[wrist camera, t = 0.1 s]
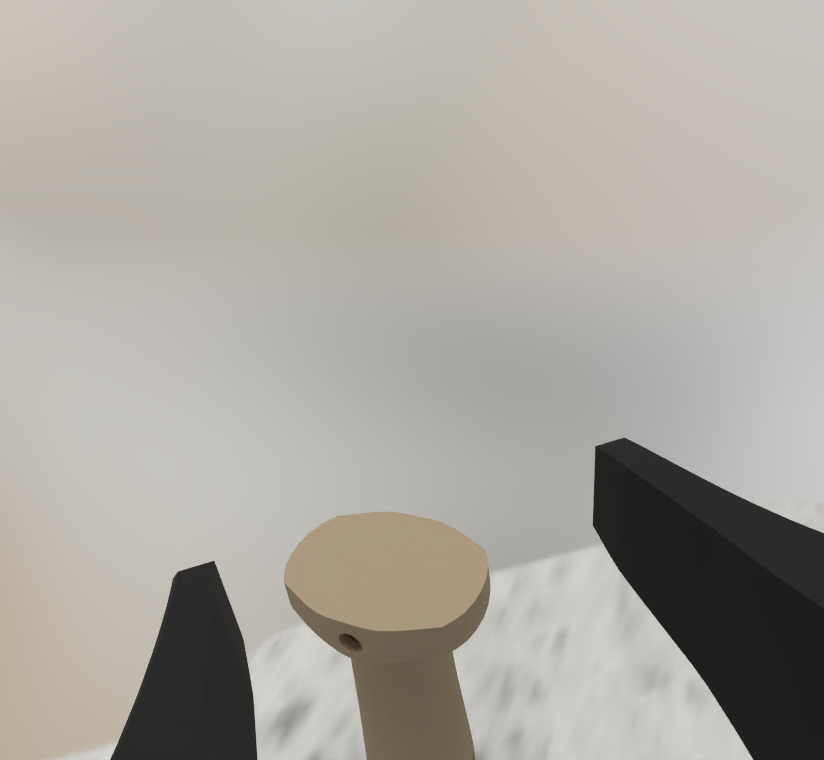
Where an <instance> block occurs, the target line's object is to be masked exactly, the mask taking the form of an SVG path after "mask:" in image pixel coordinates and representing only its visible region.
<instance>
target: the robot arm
mask: <svg viewBox="0 0 824 760" xmlns="http://www.w3.org/2000/svg"><path fill="white" fill-rule="evenodd" d="M595 449H596V450H595V479H594V509H593V526H594V528H595V530H596V532H597V533H598V535H599V537H600V539H601V540H602V542H603V544H604V546H605V547H606V549H607V551H608V553H609V554H610V556H611V558H612V559H613V561H614V562H615V564H616V566H617V567H618V569H619V571H620V572H621V573H622V575H623V576H624V577H625V579H626V580H627V581H628V583H629V584H630V585H631V587H632V588H633V589H634V590H635V592H636V593H637V594H638V596H639V597H640V598H641V600H642V601H643V602H644V603H645V605H646V606H647V607H648V609H649V610H650V611H651V612H652V614H653V615H654V616H655V618H656V619H657V620H658V621H659V623H660V624H661V625H662V627H663V628H664V629H665V630H666V632H667V633H668V634H669V635H670V637H671V638H672V639H673V641H674V642H675V643H676V644H677V646H678V647H679V648H680V650H681V651H682V652H683V653H684V655H685V656H686V657H687V659H688V660H689V661H690V662H691V664H692V665H693V666H694V668H695V669H696V671H697V672H698V673H699V675H700V676H701V678H702V679H703V680H704V682H705V683H706V684H707V686H708V687H709V689H710V690H711V692H712V694H713V695H714V697H715V698H716V700H717V702H718V703H719V705H720V706H721V708H722V709H723V711H724V713H725V714H726V716H727V717H728V719H729V720H730V722H731V724H732V725H733V727H734V728H735V730H736V732H737V733H738V735H739V736H740V738H741V740H742V741H743V743H744V745H745V746H746V748H747V750H748V751H749V753H750V755H751V756H752V758H753V760H824V533H822V532H819V531H816V530H814V529H811V528H809V527H806V526H804V525H801V524H799V523H796V522H794V521H792V520H789V519H787V518H785V517H782V516H780V515H778V514H776V513H773V512H771V511H769V510H767V509H764V508H762V507H760V506H758V505H755V504H753V503H751V502H749V501H747V500H745V499H743V498H741V497H738V496H736V495H734V494H732V493H730V492H728V491H726V490H724V489H722V488H720V487H718V486H716V485H714V484H712V483H710V482H708V481H706V480H705V479H703V478H701V477H699V476H697V475H695V474H693V473H691V472H689V471H687V470H685V469H683V468H682V467H680V466H678V465H676V464H674V463H672V462H670V461H668V460H666V459H665V458H663V457H661V456H659V455H657V454H655V453H653V452H652V451H649V450H648V449H646V448H644V447H642V446H640V445H638V444H636V443H634V442H632V441H630V440H628V439H626V438H622V439H619V440H615V441H612V442H609V443H605V444H602V445H598V446H596V448H595ZM110 760H257V747H256V731H255V716H254V701H253V692H252V686H251V680H250V674H249V668H248V663H247V657H246V652H245V646H244V641H243V637H242V634H241V631H240V629H239V626H238V624H237V621H236V618H235V615H234V613H233V610H232V608H231V605H230V602H229V600H228V597H227V594H226V591H225V589H224V586H223V583H222V581H221V578H220V575H219V573H218V570H217V567H216V565H215V562H214V561H212V562H209V563H205V564H202V565H199V566H195V567H192V568H189V569H185V570H182V571H179V572H178V573H177V574H176V575H175V577H174V578H173V582H172V586H171V591H170V595H169V599H168V603H167V607H166V611H165V614H164V618H163V621H162V625H161V628H160V631H159V634H158V637H157V641H156V644H155V647H154V650H153V653H152V656H151V659H150V661H149V664H148V667H147V670H146V673H145V676H144V679H143V682H142V685H141V687H140V690H139V693H138V695H137V698H136V700H135V703H134V705H133V708H132V710H131V712H130V715H129V717H128V720H127V722H126V725H125V727H124V729H123V732H122V734H121V737H120V739H119V742H118V744H117V746H116V748H115V751H114V753H113V755H112V757H111V759H110Z"/></svg>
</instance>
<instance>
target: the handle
mask: <svg viewBox="0 0 824 760" xmlns="http://www.w3.org/2000/svg"><path fill="white" fill-rule="evenodd" d="M284 583H285V587H286V590H287V593H288V596H289V600H290V603H291V605H292V607H293V609H294V610H295V611H296V612H297V614H298V615H299V616H300V617H301V619H302V620H303V621H304V622H305V623H306V624H307V625H308V626H309V627H310V628H311V629H312V630H313V631H314V632H315V633H316V634H317V635H318V636H319V637H320V638H321V639H323V640H324V641H325V642H326V643H328V644H329V645H330V646H332V647H333V648H334V649H336V650H337V651H339V652H340V653H342V654H344V655H346V656H348V657H350V658H351V661H352V667H353V673H354V678H355V684H356V690H357V696H358V702H359V708H360V715H361V722H362V729H363V736H364V742H365V749H366V756H367V760H475V753H474V747H473V740H472V735H471V731H470V727H469V723H468V719H467V714H466V710H465V706H464V702H463V698H462V694H461V689H460V685H459V681H458V677H457V672H456V667H455V662H454V658H453V653H452V651H453V650H455V649H457V648H458V647H459V646H461V645H462V644H463V643H465V642H466V641H467V640H468V639H469V638H470V637H471V636H472V634H473V633H474V632H475V631H476V630H477V628H478V626H479V625H480V623H481V621H482V620H483V618H484V615H485V612H486V609H487V607H488V603H489V596H490V578H489V568H488V561H487V556H486V553H485V550H484V549H483V548H482V547H481V546H479V545H478V544H477V543H475V542H474V541H472V540H471V539H469V538H468V537H467V536H465V535H463V534H462V533H460V532H459V531H457V530H456V529H454V528H452V527H450V526H448V525H446V524H444V523H441V522H438V521H435V520H431V519H426V518H421V517H416V516H412V515H408V514H402V513H394V512H374V513H362V514H353V515H344V516H337V517H335V518H333V519H331V520H329V521H327V522H325V523H323V524H321V525H320V526H318V527H317V528H316V529H314V530H313V531H312V532H311V533H309V534H308V535H307V536H306V537H305V538H304V539H303V540H302V541H301V542H300V543H299V544H298V546H297V547H296V549H295V550H294V552H293V553H292V554H291V556H290V558H289V560H288V562H287V564H286V568H285V573H284Z"/></svg>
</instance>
